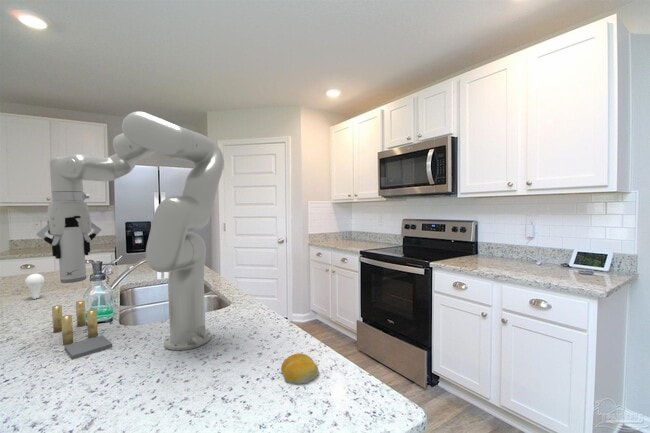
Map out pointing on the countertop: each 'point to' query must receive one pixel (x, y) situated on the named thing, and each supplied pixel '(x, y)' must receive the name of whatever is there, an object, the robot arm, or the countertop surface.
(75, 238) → the travel mug
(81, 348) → the mat
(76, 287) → the countertop surface
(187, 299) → the robot arm
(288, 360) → the bread roll
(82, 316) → the spacer posts
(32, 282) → the lightbulb
